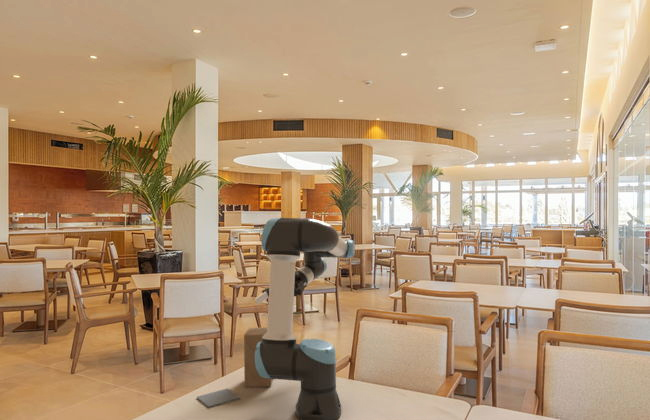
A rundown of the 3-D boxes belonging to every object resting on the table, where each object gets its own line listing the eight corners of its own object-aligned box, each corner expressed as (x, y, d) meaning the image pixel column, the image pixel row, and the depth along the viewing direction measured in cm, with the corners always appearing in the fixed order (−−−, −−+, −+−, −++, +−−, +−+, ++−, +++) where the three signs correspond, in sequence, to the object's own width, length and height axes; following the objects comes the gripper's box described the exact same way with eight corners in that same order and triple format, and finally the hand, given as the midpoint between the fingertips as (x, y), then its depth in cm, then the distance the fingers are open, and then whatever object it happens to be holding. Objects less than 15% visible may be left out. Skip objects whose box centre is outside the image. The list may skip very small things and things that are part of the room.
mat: (240, 398, 166) (240, 397, 166) (208, 408, 159) (208, 406, 159) (227, 389, 174) (227, 388, 174) (196, 398, 166) (196, 396, 166)
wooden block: (270, 387, 176) (270, 334, 175) (244, 387, 176) (243, 334, 176) (274, 377, 186) (273, 327, 185) (249, 377, 186) (248, 327, 186)
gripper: (326, 285, 190) (295, 310, 174) (281, 287, 205) (249, 310, 189) (321, 268, 189) (289, 291, 172) (276, 272, 204) (243, 293, 187)
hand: (268, 301), depth 180 cm, fingers open, 13 cm apart
